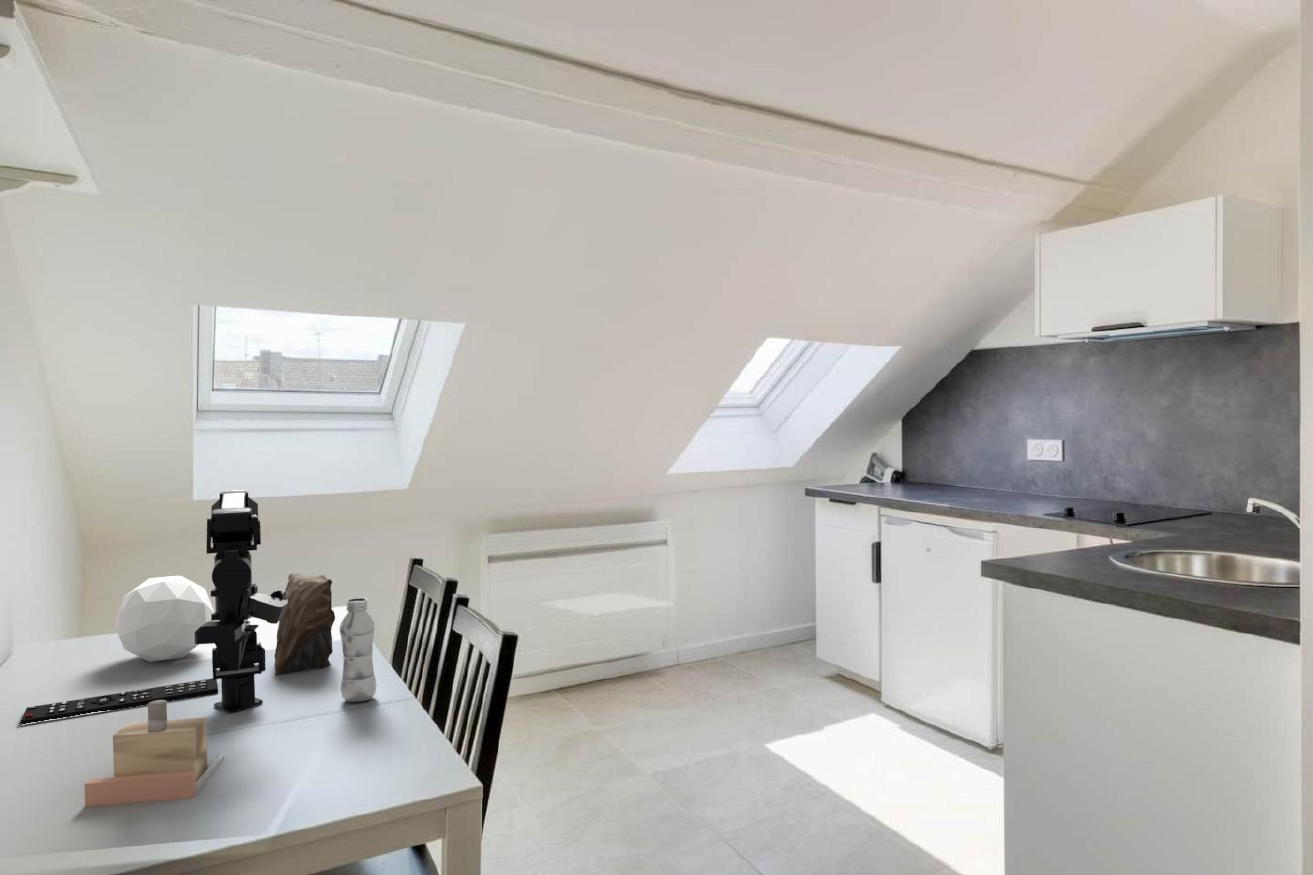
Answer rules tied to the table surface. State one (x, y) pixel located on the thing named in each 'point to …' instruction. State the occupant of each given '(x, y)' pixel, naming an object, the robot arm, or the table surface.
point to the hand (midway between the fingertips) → (235, 670)
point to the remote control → (120, 700)
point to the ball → (162, 618)
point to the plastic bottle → (357, 652)
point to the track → (145, 787)
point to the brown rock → (305, 625)
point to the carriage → (160, 745)
